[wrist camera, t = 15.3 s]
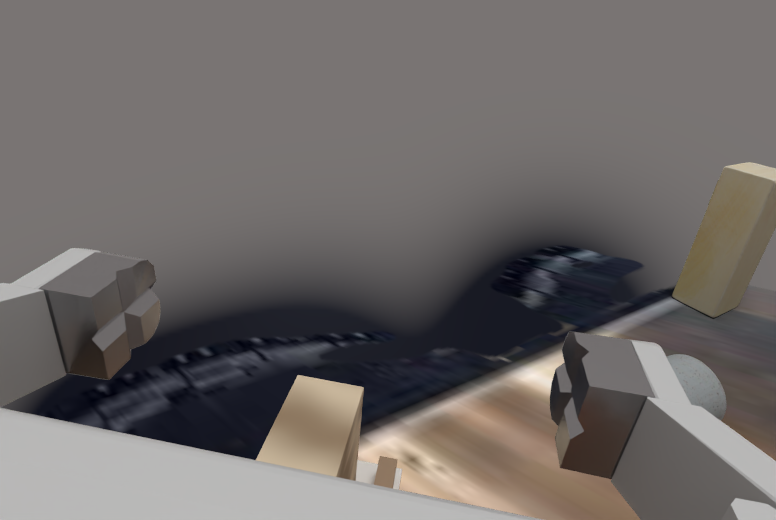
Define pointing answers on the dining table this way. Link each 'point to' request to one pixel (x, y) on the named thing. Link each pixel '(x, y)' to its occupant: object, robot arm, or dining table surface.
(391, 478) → the track
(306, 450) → the wooden block
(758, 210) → the toy refrigerator
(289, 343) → the dining table surface
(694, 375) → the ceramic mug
